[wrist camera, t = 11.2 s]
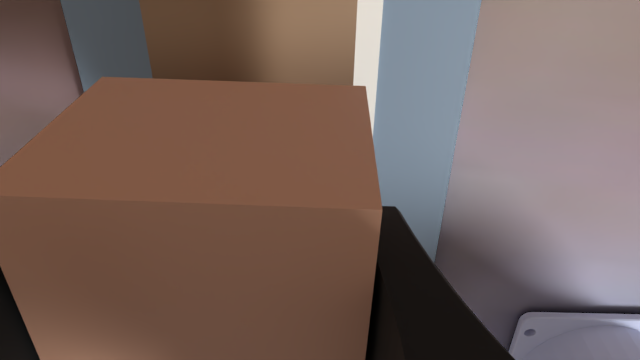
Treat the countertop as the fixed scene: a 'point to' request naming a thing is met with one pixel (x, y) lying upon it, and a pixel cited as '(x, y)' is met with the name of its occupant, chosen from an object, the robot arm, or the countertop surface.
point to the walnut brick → (252, 40)
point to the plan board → (369, 70)
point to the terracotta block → (196, 223)
